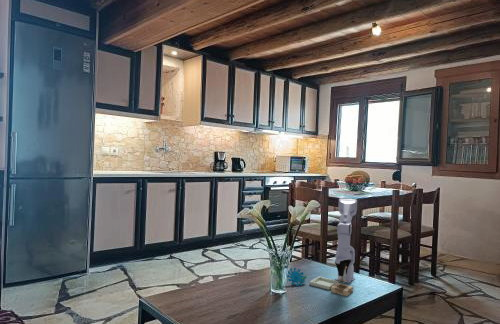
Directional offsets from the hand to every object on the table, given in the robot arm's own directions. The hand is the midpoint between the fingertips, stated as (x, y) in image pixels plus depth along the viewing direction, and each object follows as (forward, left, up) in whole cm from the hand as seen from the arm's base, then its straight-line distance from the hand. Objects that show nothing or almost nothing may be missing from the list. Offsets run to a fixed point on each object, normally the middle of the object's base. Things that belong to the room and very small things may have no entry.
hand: (342, 274), depth 173 cm
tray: (-3, -11, -8) cm, 14 cm away
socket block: (0, 0, -8) cm, 8 cm away
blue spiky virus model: (+6, -22, -9) cm, 25 cm away
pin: (0, 0, -3) cm, 3 cm away
